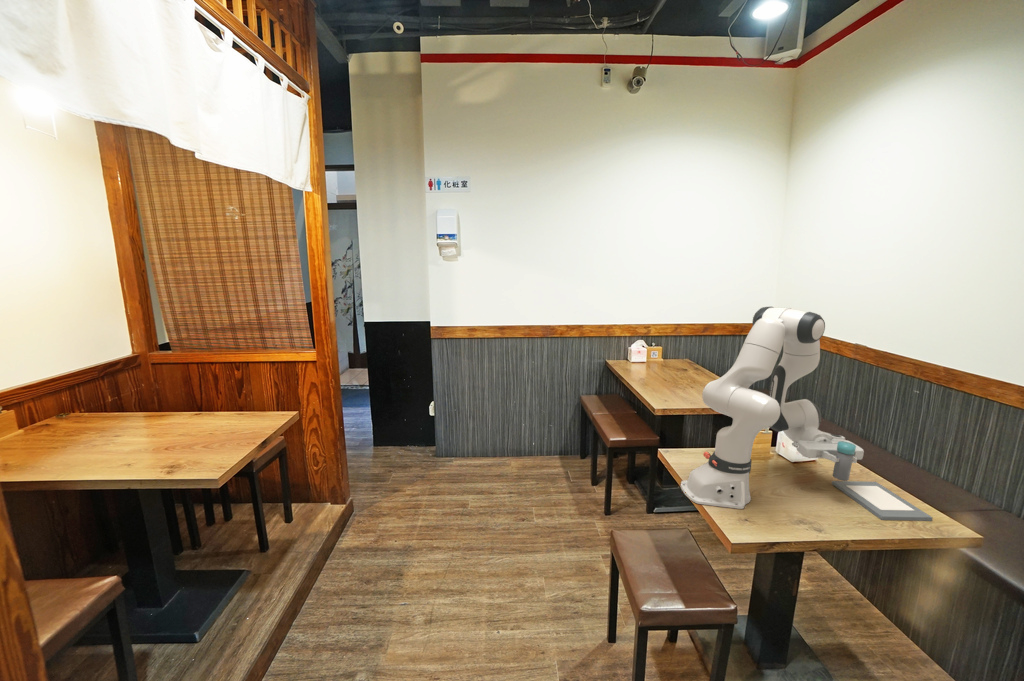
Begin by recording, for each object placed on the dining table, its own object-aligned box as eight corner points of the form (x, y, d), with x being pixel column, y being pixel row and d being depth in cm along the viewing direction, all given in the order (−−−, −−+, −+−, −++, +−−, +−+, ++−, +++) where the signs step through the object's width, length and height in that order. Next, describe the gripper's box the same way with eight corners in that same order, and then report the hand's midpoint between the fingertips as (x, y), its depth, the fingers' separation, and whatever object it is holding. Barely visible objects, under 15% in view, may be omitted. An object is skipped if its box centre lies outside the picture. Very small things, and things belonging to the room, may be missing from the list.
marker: (838, 480, 144) (845, 447, 142) (828, 473, 149) (834, 441, 146) (853, 481, 144) (859, 447, 142) (842, 474, 149) (848, 441, 146)
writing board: (881, 519, 137) (882, 515, 137) (831, 483, 159) (832, 480, 159) (931, 520, 137) (932, 516, 137) (875, 484, 159) (876, 481, 158)
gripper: (790, 434, 157) (816, 450, 144) (846, 435, 157) (878, 452, 143) (787, 450, 158) (813, 468, 145) (843, 452, 158) (874, 470, 145)
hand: (846, 460), depth 144 cm, fingers closed on marker, 4 cm apart
